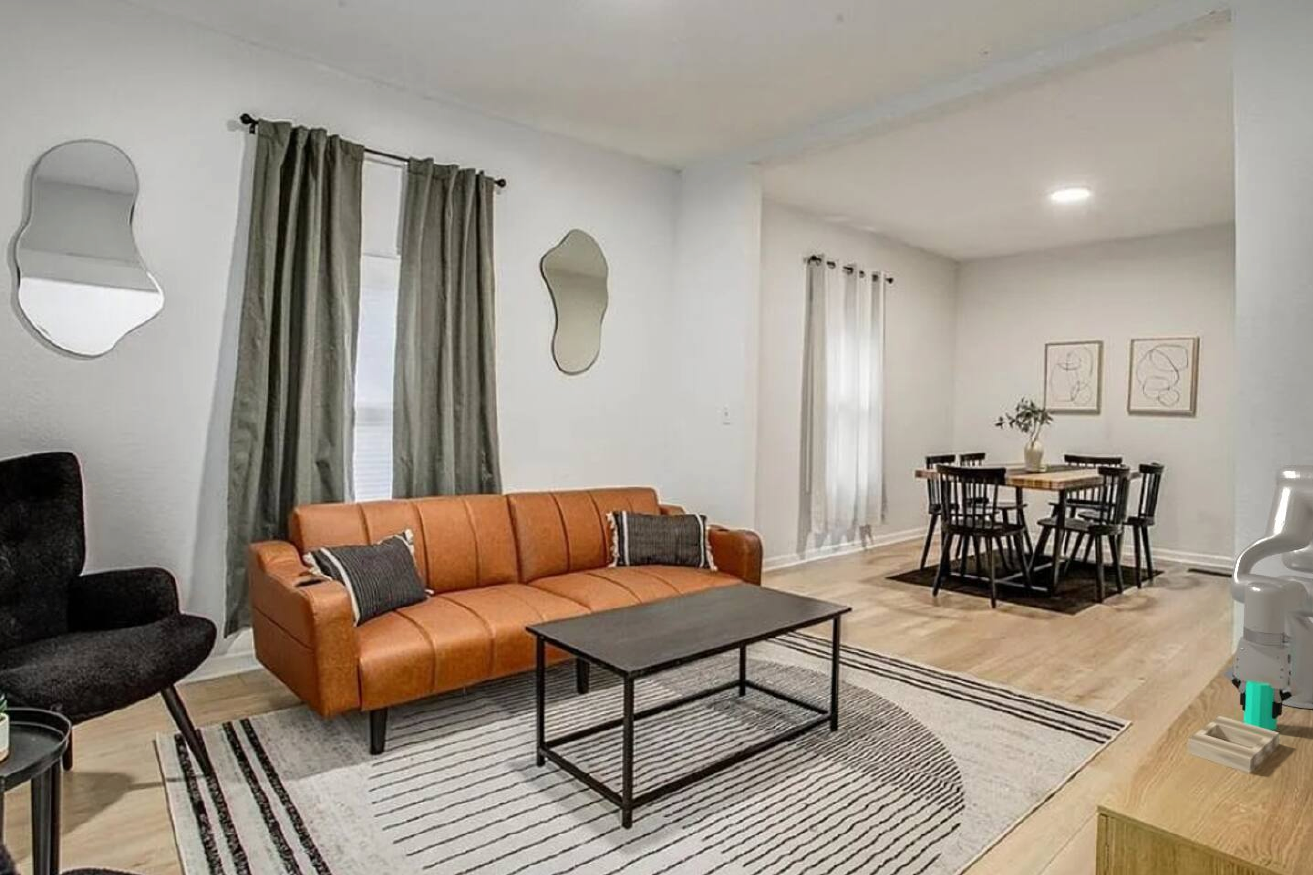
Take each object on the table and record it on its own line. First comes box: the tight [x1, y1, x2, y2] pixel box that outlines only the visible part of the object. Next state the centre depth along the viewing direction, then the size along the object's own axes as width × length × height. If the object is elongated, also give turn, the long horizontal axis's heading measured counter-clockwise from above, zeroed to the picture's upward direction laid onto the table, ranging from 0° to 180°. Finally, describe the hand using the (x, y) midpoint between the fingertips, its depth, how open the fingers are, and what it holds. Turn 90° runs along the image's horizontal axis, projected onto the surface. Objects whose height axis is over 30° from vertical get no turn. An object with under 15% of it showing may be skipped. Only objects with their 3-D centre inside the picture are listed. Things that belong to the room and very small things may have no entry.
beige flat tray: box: [1186, 715, 1280, 774], centre depth 165 cm, size 20×11×3 cm, turn 127°
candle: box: [1243, 681, 1278, 731], centre depth 176 cm, size 6×6×12 cm
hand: (1260, 712), depth 176 cm, fingers closed on candle, 4 cm apart
